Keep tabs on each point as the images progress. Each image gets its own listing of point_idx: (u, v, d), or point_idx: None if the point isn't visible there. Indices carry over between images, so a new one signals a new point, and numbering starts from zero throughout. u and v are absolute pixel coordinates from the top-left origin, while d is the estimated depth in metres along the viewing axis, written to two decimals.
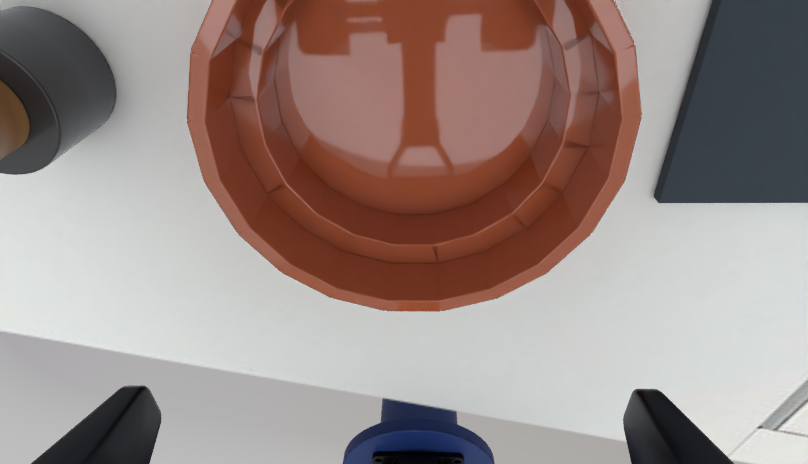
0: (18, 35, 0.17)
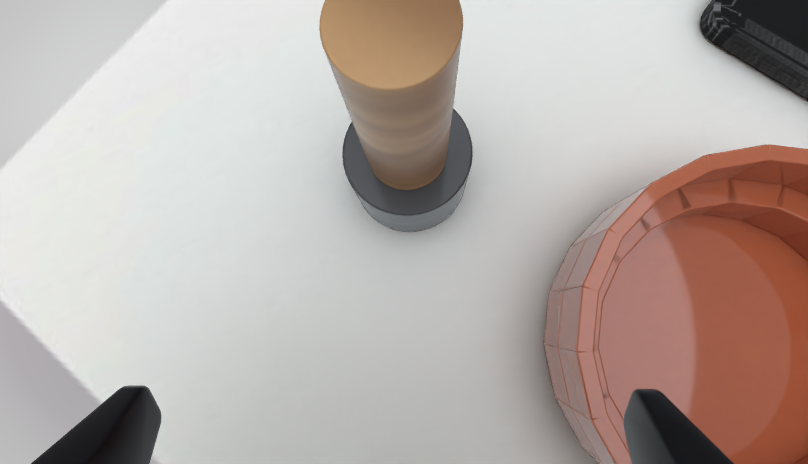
0: None
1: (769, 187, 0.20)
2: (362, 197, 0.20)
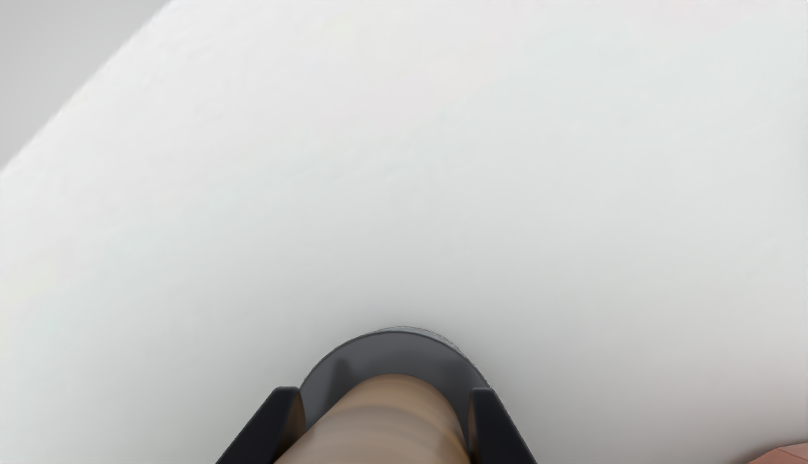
0: None
1: None
2: None
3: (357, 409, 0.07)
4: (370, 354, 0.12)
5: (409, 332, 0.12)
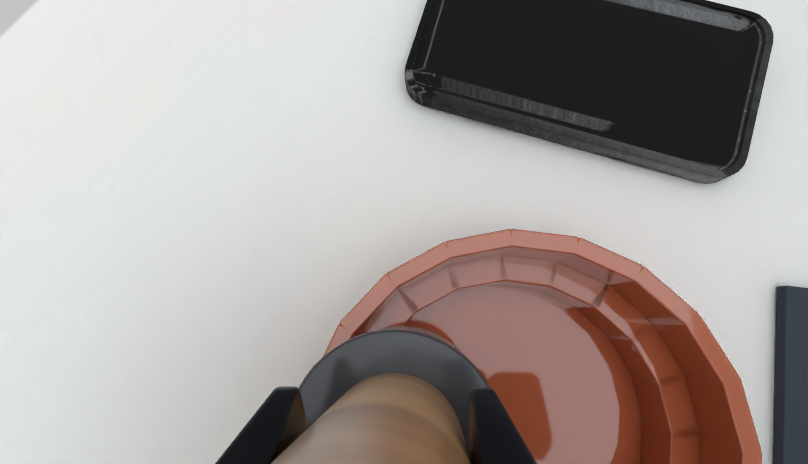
0: None
1: (489, 261, 0.19)
2: None
3: (356, 408, 0.07)
4: (369, 353, 0.12)
5: (408, 331, 0.12)
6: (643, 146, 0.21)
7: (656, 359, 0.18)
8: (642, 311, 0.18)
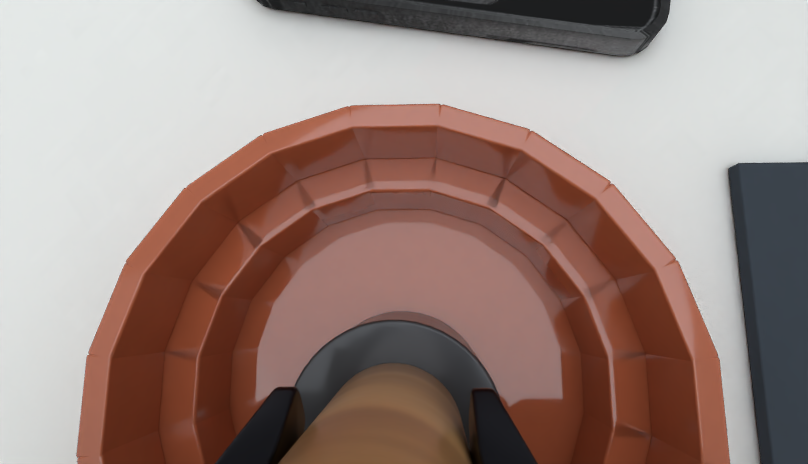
0: None
1: (349, 169, 0.15)
2: None
3: (355, 412, 0.07)
4: (369, 343, 0.12)
5: (409, 321, 0.12)
6: (541, 15, 0.17)
7: (577, 265, 0.14)
8: (550, 204, 0.14)
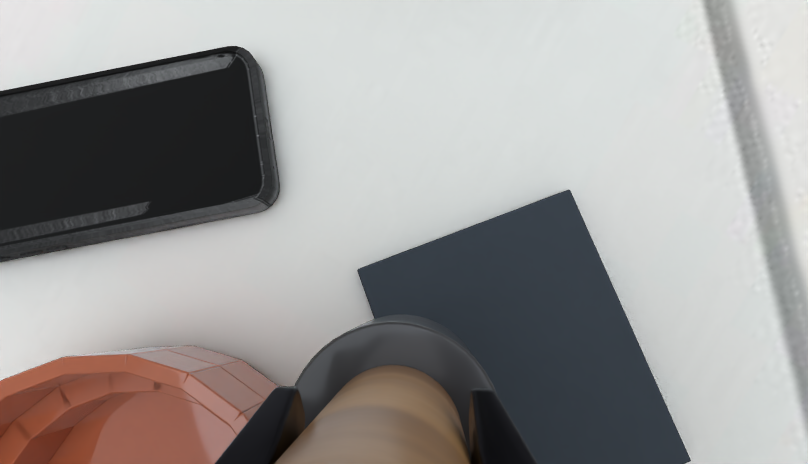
0: None
1: (49, 398, 0.19)
2: None
3: (354, 410, 0.07)
4: (368, 345, 0.12)
5: (408, 323, 0.12)
6: (183, 209, 0.22)
7: None
8: None
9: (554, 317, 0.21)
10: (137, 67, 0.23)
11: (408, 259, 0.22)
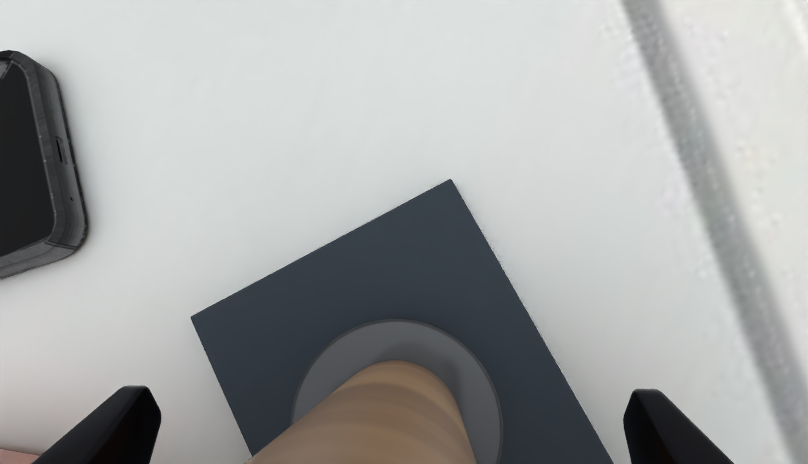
0: None
1: None
2: None
3: (361, 386, 0.08)
4: (372, 342, 0.13)
5: (410, 321, 0.13)
6: None
7: None
8: None
9: None
10: None
11: (254, 295, 0.17)
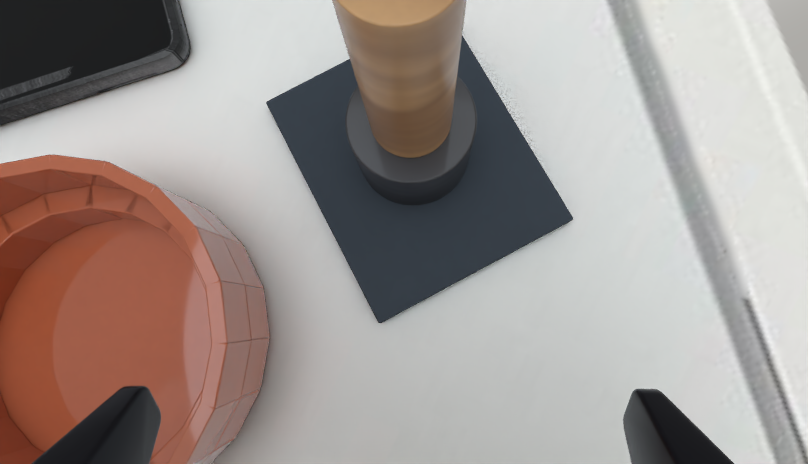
0: None
1: None
2: (365, 165, 0.20)
3: None
4: None
5: None
6: (102, 69, 0.25)
7: (153, 214, 0.21)
8: (118, 187, 0.21)
9: None
10: None
11: (310, 86, 0.24)
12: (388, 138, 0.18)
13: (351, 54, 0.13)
